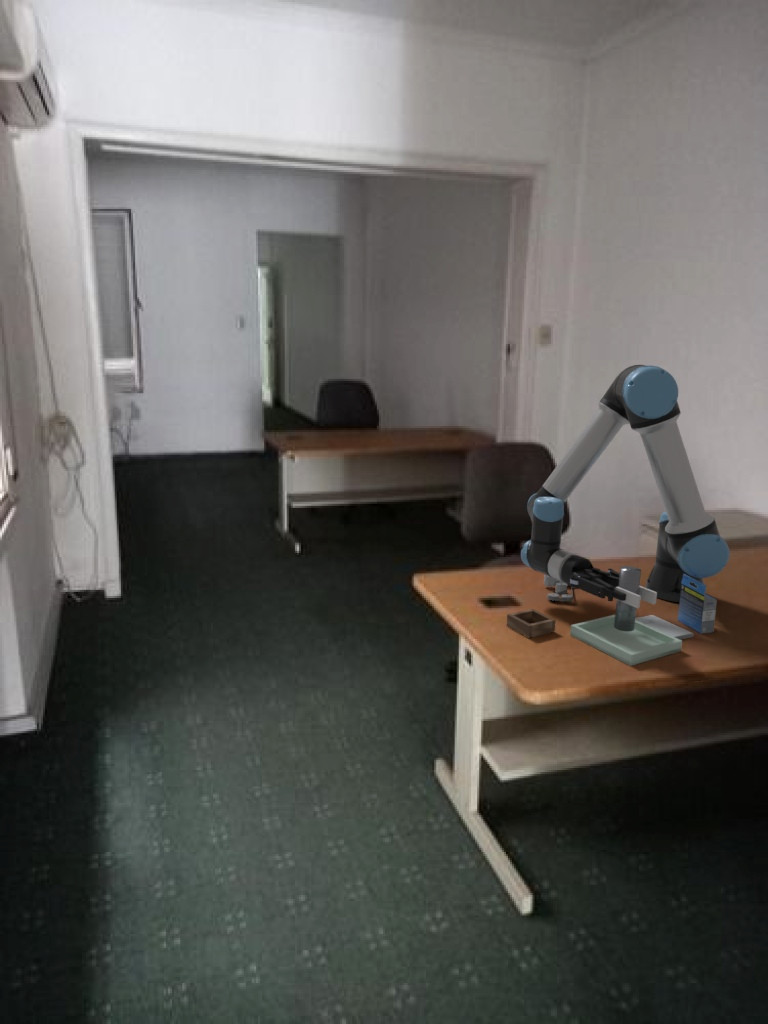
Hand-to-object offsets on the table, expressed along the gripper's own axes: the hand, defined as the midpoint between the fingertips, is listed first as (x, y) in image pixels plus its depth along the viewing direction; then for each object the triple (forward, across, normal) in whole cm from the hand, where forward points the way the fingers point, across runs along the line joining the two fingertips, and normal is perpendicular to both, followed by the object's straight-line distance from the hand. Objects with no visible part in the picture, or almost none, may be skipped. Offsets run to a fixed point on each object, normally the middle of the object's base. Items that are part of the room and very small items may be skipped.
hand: (647, 600), depth 152 cm
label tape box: (-4, -23, -12) cm, 27 cm away
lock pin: (-5, 0, -8) cm, 10 cm away
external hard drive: (-7, -14, -13) cm, 20 cm away
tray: (-5, 0, -12) cm, 13 cm away
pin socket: (-21, +14, -12) cm, 28 cm away
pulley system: (-38, -16, -13) cm, 43 cm away
